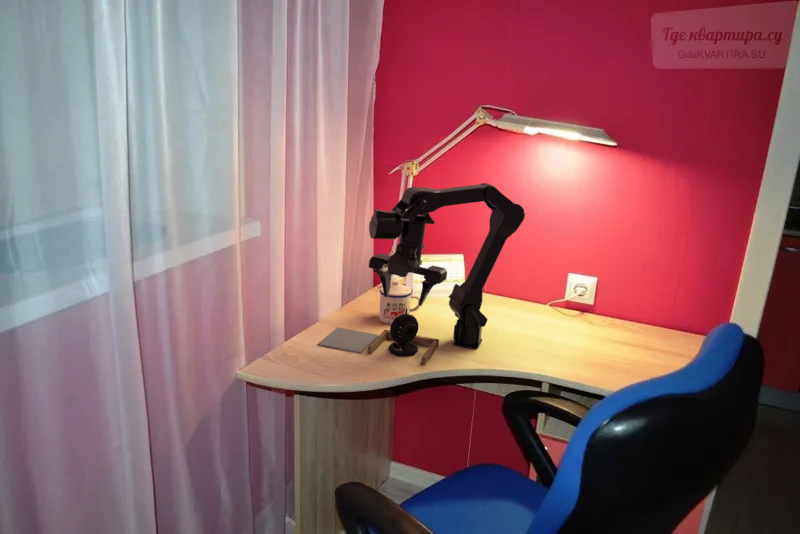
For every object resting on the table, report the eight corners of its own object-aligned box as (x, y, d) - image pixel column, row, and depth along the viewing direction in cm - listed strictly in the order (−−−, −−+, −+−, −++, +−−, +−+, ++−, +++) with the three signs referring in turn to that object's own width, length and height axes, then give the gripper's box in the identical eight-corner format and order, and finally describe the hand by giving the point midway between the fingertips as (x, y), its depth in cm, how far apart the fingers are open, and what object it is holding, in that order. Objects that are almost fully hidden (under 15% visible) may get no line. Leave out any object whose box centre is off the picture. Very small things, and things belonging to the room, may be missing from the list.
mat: (378, 336, 160) (378, 334, 159) (361, 353, 149) (361, 352, 148) (337, 328, 163) (337, 327, 163) (317, 345, 152) (317, 343, 152)
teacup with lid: (380, 325, 167) (381, 285, 163) (377, 313, 175) (378, 275, 172) (422, 325, 168) (424, 286, 165) (417, 313, 177) (419, 276, 174)
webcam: (396, 359, 146) (398, 321, 144) (382, 348, 153) (384, 311, 150) (423, 354, 150) (426, 317, 147) (409, 343, 156) (411, 307, 153)
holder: (438, 346, 155) (439, 339, 154) (425, 365, 144) (425, 357, 144) (384, 336, 160) (384, 329, 159) (367, 354, 149) (367, 346, 148)
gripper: (362, 237, 140) (355, 300, 144) (436, 254, 134) (427, 319, 138) (381, 231, 150) (374, 290, 154) (451, 246, 144) (442, 307, 148)
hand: (403, 301), depth 148 cm, fingers open, 9 cm apart
